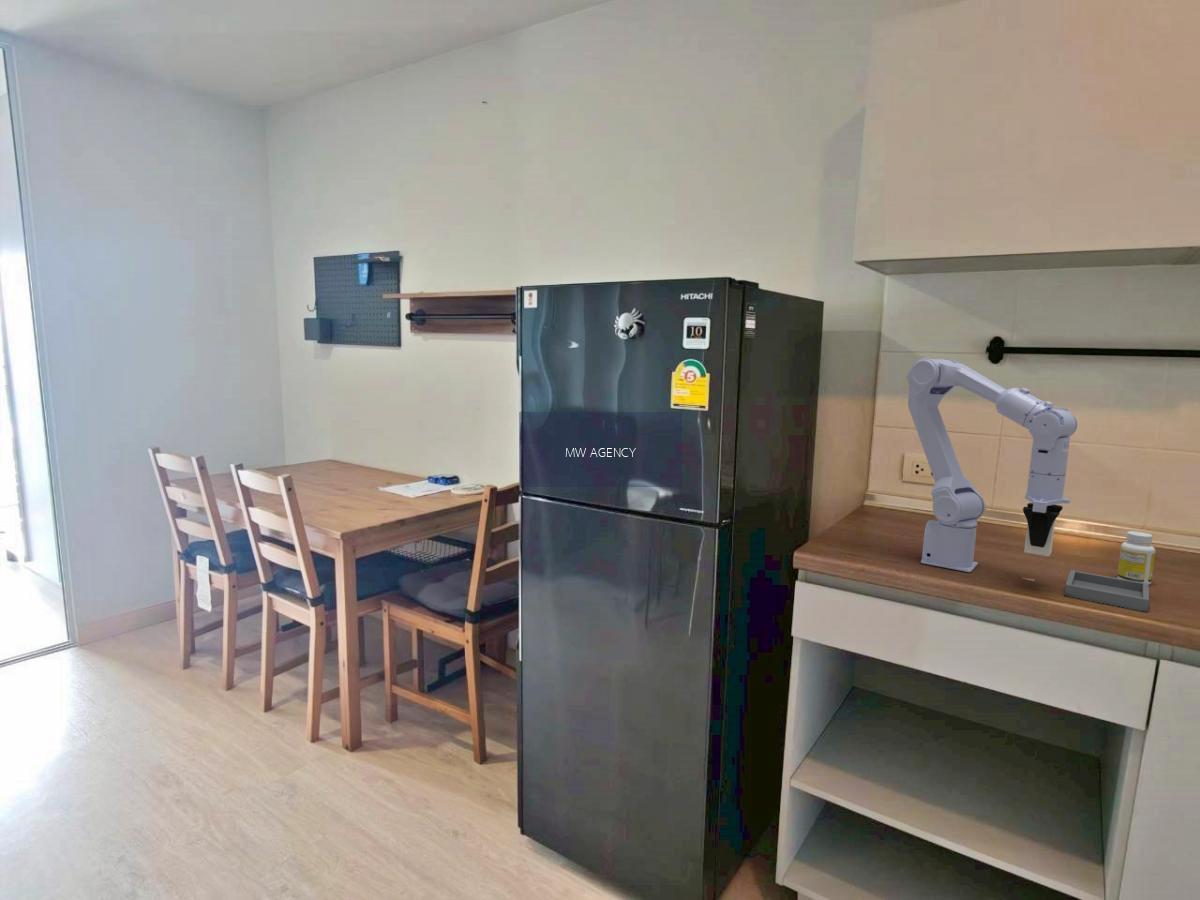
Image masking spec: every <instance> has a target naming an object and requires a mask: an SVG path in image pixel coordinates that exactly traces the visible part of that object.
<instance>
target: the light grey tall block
mask: <svg viewBox="0 0 1200 900" xmlns="http://www.w3.org/2000/svg"><path fill="white" fill-rule="evenodd" d="M1055 525H1056V519H1055V520H1054V522H1053V524H1052V526H1051V529H1050V531H1049V535H1048V538H1047V541H1046V544H1045V546H1044V547H1037V546H1031V544H1030V538H1029V527H1028V522H1027V525H1026V533H1025V540H1024V542H1025V543H1024V550H1023V551H1024V552H1023V553H1026V554H1031V555H1039V556H1043V557H1050V556H1051V554H1052V550H1053V541H1054V533H1055V527H1056V526H1055Z"/></svg>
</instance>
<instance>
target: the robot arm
mask: <svg viewBox="0 0 1200 900" xmlns="http://www.w3.org/2000/svg"><path fill="white" fill-rule="evenodd" d="M906 380H907V383H908V385H909V386H908V396H907V397H908V398H907V405H908V411H909V413H910V416H911V418H912V422H913V423H914V427H915V430H916V431H917V434H918V435H917V436H918V439H919V440H920V441H919V442H920V443H921V446H922V448H923V452H924V454H925V457H926V460H927V463H928V465H929V468H930V471H931V474H932V476H933V479H934V482H935V483H934V485H933V487H932V490H931V492H930V494H931V497H932V512H933V513H932V514H933V515H934V517H935V518H936V519H937V520H935V519H934V520H932V519H928V521H927V522H926V524H925V528H924V535H923V540H922V541H923V542H922V553H921V560H920V563H921V564H925V565H930V566H935V567H939V568H944V569H950V570H956V571H961V572H966V573H971V572H973V570H974V569H975V568H976V567H977V565H978V563H979V562H977V561H974V555H975V546H976V538H977V536H976V535H977V526H978V519H979V518H981V517H982V516H983V514H984V513H985V510H986V503H985V502H986V501H985V500H984V497H982V495H981V494H979V493H978V491H977V490H976V488H975V485H974V484H973V482H972V481H970V480H969V479H968V478H967V477H966V476H965V475H964V474H963V472H962V469H961V466H960V464H959V463H960V462H959V461H958V458H957V455H956V453H955V450H954V446H953V444H952V442H951V439H950V437H949V434H948V430H947V429H946V425H945V422H944V420H943V418H942V415H941V412H940V409H939V404H940V403H941V401H942V400H943V398H944V397H945V396H946V395H947V394H948V393H949V392H950V391H951V390H952V389H953V388H955V387H961V388H963V389H965V390H967V391H969V392H971V393H973V394H974V395H978V396H979V397H981V398H983V399H986V400H987V401H989V402H991V403H994V405H995V409H996V411H997V413H999V414H1000V415H1001V416H1003V417H1005V418H1007V419H1009V420H1010V421H1012V422H1014V423H1016V424H1018V425H1019V426H1021V427H1023V428H1025V429H1026V430H1028V432H1029V433H1030V435H1031V436H1032V447H1031V454H1030V462H1029V463H1030V464H1029V470H1028V471H1029V472H1028V480H1027V489H1026V493H1025V494H1024V495H1025V496H1024V499H1026V500H1027V501H1028V503H1027V504H1026V506H1023V507H1022V511H1023V514H1024V516H1025V519H1026V522H1027V523H1028V527H1029V538H1030V544H1031V546H1037V547H1044V546H1045V544H1046V541H1047V538H1048V535H1049V531H1050V529H1051V526H1052V524H1053V522H1054V520H1055V521H1056V519H1057V518H1058V517H1059V515H1060V514H1061V513H1060V512H1061V511H1062V510H1063V509H1064V508H1063V506H1062V505H1060V504H1070V503H1071V499H1070V498H1066V497H1064V492H1065V491H1064V490H1065V482H1066V476H1067V475H1066V474H1067V467H1068V459H1069V449H1070V448H1069V447H1070V442H1071V441H1070V440H1071V436H1073V435H1074V433H1075V432H1076V431H1077V429H1078V419H1077V417H1076V416H1075V415H1074V413H1072V412H1071V411H1070V410H1068V409H1067V408H1064V407H1063V408H1062V407H1058V408H1054V407H1053V406H1054V403H1053V402H1051V401H1049V400H1048V401H1047V400H1046V401H1044V400H1042V399H1040V398H1037V397H1036V396H1033V394H1030V393H1031V390H1030V389H1028V388H1026V387H1021V388H1018V387H1012V388H1009V389H1006V388H1004V387H1002V386H1001V385H1000V384H997V383H996V382H994V381H993V380H990V379H989V378H987V377H985V376H984V375H982V374H980V373H979V372H977V371H975V370H974V369H972V368H970V367H969V366H967V365H966V364H963V363H961V362H957V361H956V360H954V359H950V358H944V359H939V358H938V359H937V358H935V359H934V358H929V357H922V358H919V359H917V360H916V361H915V362H914V363H913V364H912V366H911V367H910V369H909V371H908V373H907V374H906Z"/></svg>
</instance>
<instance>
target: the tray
mask: <svg viewBox="0 0 1200 900" xmlns="http://www.w3.org/2000/svg"><path fill="white" fill-rule="evenodd" d="M1063 594H1064V595H1066V596H1065V597H1067V596H1071V597H1070V598H1072V597H1074V598H1073V599H1077V598H1080V599H1079V600H1082V599H1085V600H1084V601H1087V600H1091V601H1090V602H1092V601H1095V602H1094V603H1097V602H1100V603H1099V604H1102V603H1104V604H1103V605H1107V604H1110V605H1109V606H1112V605H1114V606H1113V607H1117V606H1120V607H1119V608H1122V607H1124V608H1123V609H1127V608H1128V609H1127V610H1132V609H1133V610H1134V611H1138V612H1143V613H1148V610H1149V609H1148V608H1149V603H1150V589H1149V585H1148V584H1147V583H1141V582H1136V581H1130V580H1124V579H1119V578H1117V577H1112V576H1108V575H1107V576H1105V575H1102V574H1094V573H1090V572H1083V571H1078V570H1073V569H1070V572H1069V574H1068V577H1067V580H1066V583H1065V587H1064V593H1063ZM1064 595H1063V596H1064Z"/></svg>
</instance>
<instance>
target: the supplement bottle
mask: <svg viewBox="0 0 1200 900" xmlns="http://www.w3.org/2000/svg"><path fill="white" fill-rule="evenodd" d="M1126 540H1127V541H1125V542H1123V543H1122V544H1121V545H1120V549H1119V550H1120V551H1119V559H1118V566H1117V567H1118V568H1117V577H1116V578H1119V579H1124V580H1130V581H1136V582H1141V583H1147V584H1148V586H1150V585H1151V584H1152V581H1153V572H1154V565H1155V556H1156V548H1155V547H1154V546H1153V545H1151V543H1152V542H1153V535H1152V534H1151V533H1148V532H1147V533H1146V532H1141V531H1135V530H1134V531H1127V532H1126Z"/></svg>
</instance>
